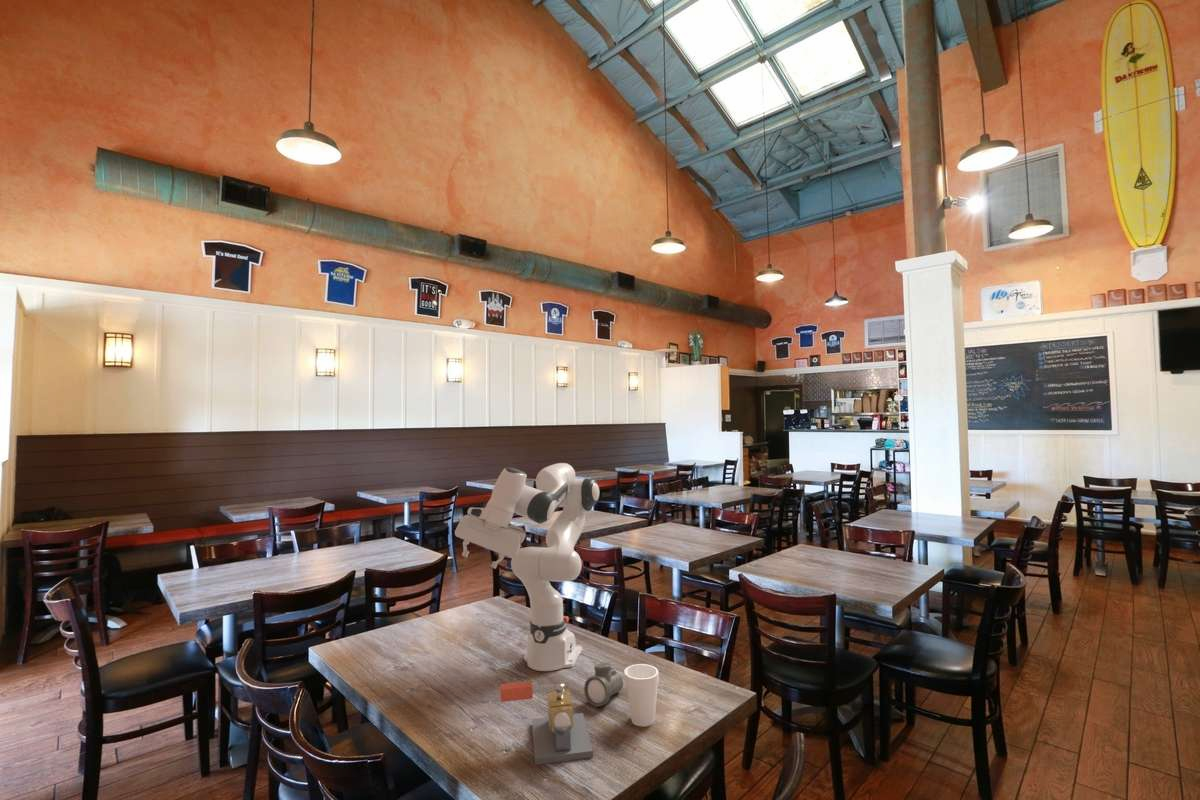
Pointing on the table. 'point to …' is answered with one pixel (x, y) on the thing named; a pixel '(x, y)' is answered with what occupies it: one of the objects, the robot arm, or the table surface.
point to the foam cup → (642, 693)
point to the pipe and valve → (561, 718)
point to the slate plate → (546, 741)
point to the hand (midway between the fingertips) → (478, 562)
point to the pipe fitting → (602, 684)
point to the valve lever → (527, 690)
